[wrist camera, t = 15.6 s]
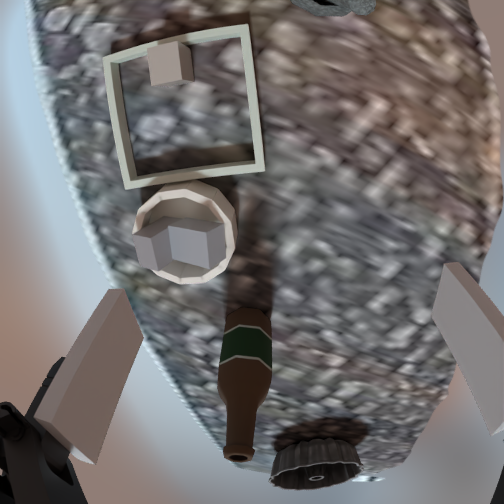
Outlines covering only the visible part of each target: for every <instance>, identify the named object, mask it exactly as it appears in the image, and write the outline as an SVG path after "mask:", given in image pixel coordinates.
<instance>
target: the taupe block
mask: <svg viewBox="0 0 504 504" xmlns="http://www.w3.org/2000/svg"><path fill="white" fill-rule="evenodd" d="M147 53H148V62H149V70H150V78H151V86H158V87H171V86H176V85H181V84H186V83H192V82H194V74H193V66H192V58H191V50H190V48H188V47H187V46H185V45H183V44H182V43H180V42H178V41H175V42H170V43H166V44H162V45H158V46H154V47H150V48H147Z"/></svg>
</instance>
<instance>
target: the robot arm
mask: <svg viewBox="0 0 504 504" xmlns="http://www.w3.org/2000/svg"><path fill="white" fill-rule="evenodd" d="M431 317H432V319H433V320H434V322H435V324H436V326H437V327H438V329H439V331H440V332H441V334H442V336H443V338H444V340H445V341H446V343H447V345H448V347H449V349H450V351H451V352H452V354H453V356H454V358H455V360H456V362H457V364H458V366H459V368H460V369H461V371H462V373H463V375H464V377H465V379H466V381H467V384H468V386H469V388H470V390H471V392H472V394H473V396H474V398H475V400H476V402H477V405H478V407H479V409H480V411H481V414H482V416H483V418H484V421H485V423H486V425H487V428H488V430H489V432H490V435H494V434H496V433H498V432H500V431H502V430H504V316H503V315H502V314H501V312H500V311H499V310H498V308H497V307H496V306H495V305H494V303H493V302H492V301H491V300H490V298H489V297H488V296H487V295H486V293H485V292H484V291H483V290H482V289H481V287H480V286H479V285H478V284H477V283H476V282H475V280H474V279H473V278H472V277H471V276H470V275H469V273H468V272H467V271H466V270H465V269H464V268H463V267H462V266H461V265H460V263H459V262H455V263H446V264H444V267H443V271H442V276H441V280H440V284H439V288H438V292H437V296H436V299H435V303H434V307H433V310H432V314H431ZM143 339H144V337H143V334H142V332H141V330H140V327H139V325H138V323H137V320H136V318H135V315H134V313H133V310H132V308H131V305H130V303H129V300H128V298H127V295H126V293H125V290H124V289H109V290H108V291H107V293H106V294H105V296H104V297H103V299H102V300H101V302H100V303H99V305H98V306H97V308H96V309H95V311H94V312H93V314H92V316H91V317H90V319H89V320H88V322H87V324H86V325H85V326H84V328H83V330H82V331H81V333H80V334H79V336H78V338H77V339H76V341H75V343H74V344H73V346H72V348H71V349H70V351H69V353H68V354H67V356H66V357H61V358H60V359H59V360H58V361H57V362H56V363H55V364H54V365H53V366H52V368H51V369H50V371H49V373H48V375H47V378H45V380H44V381H43V383H42V387H40V389H39V391H38V392H37V394H36V396H35V398H34V400H33V402H32V403H31V405H30V407H29V409H28V411H27V413H26V415H25V416H23V415H22V414H21V413H20V412H19V411H18V410H17V409H16V408H15V406H13V405H12V404H11V403H10V402H2V403H0V468H1V469H2V470H3V472H2V476H1V475H0V504H88V502H87V500H86V498H85V496H84V493H83V491H82V489H81V486H80V484H79V481H78V479H77V476H76V473H75V471H74V468H73V465H72V463H71V461H70V460H69V459H68V456H69V453H71V454H73V455H74V456H75V457H76V458H77V459H79V460H81V461H84V462H88V463H91V464H95V465H96V463H97V460H98V457H99V454H100V451H101V448H102V445H103V442H104V439H105V437H106V434H107V431H108V428H109V425H110V422H111V420H112V417H113V414H114V412H115V409H116V406H117V404H118V401H119V398H120V396H121V393H122V390H123V388H124V385H125V383H126V380H127V377H128V375H129V373H130V370H131V367H132V365H133V363H134V360H135V358H136V355H137V353H138V350H139V348H140V346H141V343H142V341H143ZM503 442H504V440H503ZM490 504H504V466H503V470H502V473H501V476H500V479H499V482H498V484H497V487H496V490H495V493H494V495H493V498H492V500H491V503H490Z"/></svg>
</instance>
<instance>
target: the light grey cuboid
mask: <svg viewBox="0 0 504 504" xmlns="http://www.w3.org/2000/svg"><path fill="white" fill-rule="evenodd" d="M168 230H169V238H170V245H171V252H172V259H174V260H178V261H181V262H185V263H189V264H192V265H196V266H199V267H203V268H207V269H211V268H212V267H214V266H215V265H217V264H218V263H220V262H221V261H223V260H224V259H226V247H225V232H224V223H218V222H212V221H206V220H199V219H193V218H187V217H186V218H184V219H181V220H179V221H177V222H175V223H172V224H170V225H168Z"/></svg>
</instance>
